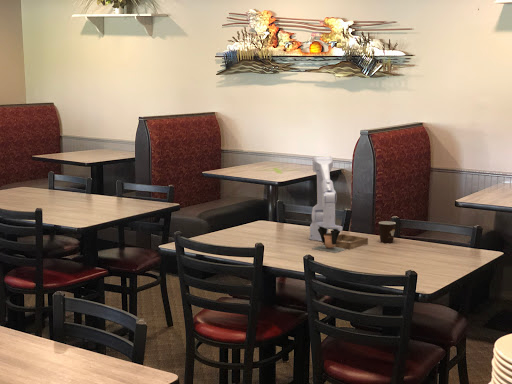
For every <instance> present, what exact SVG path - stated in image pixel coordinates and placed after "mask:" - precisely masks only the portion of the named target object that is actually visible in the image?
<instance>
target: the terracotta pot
mask: <svg viewBox="0 0 512 384" xmlns="http://www.w3.org/2000/svg"><path fill="white" fill-rule="evenodd" d="M324 238H325V247H326V248H333V247H335V246H336V245H335V244H334V245H333V244H332V235H331V232H328V233H327V234H324Z"/></svg>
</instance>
